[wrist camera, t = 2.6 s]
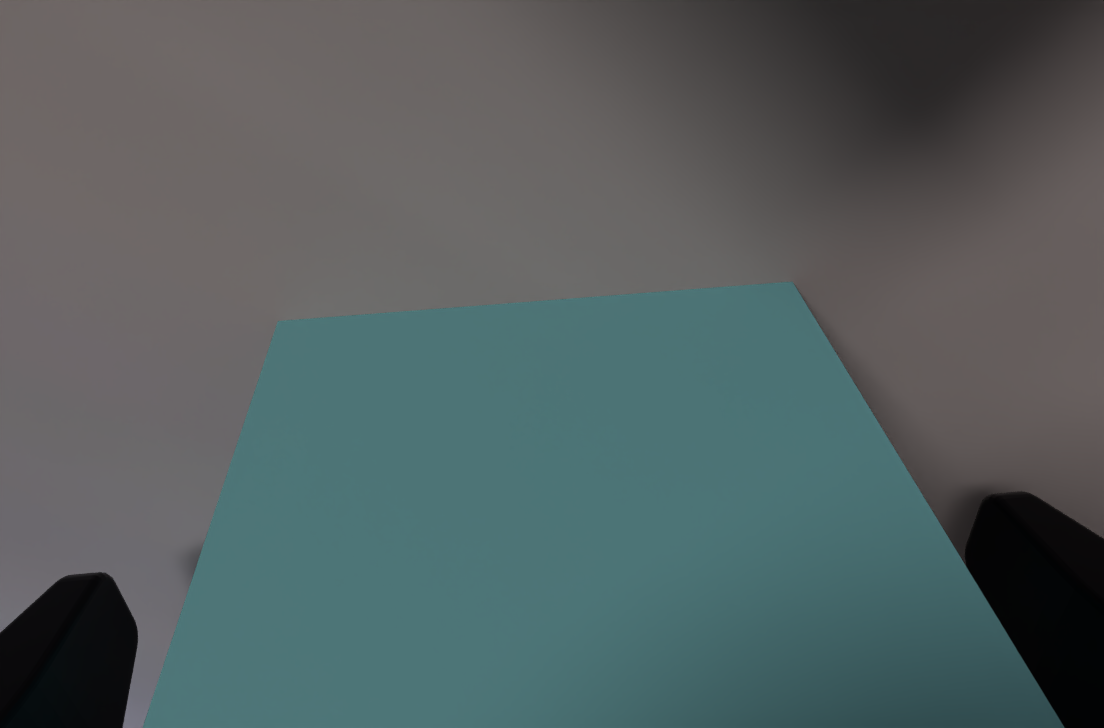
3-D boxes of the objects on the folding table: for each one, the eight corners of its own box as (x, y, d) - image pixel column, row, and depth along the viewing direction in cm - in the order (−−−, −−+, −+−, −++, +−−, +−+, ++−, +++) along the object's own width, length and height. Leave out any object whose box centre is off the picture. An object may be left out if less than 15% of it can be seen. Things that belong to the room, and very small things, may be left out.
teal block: (789, 277, 8) (1085, 761, 4) (744, 603, 11) (895, 1074, 7) (279, 316, 8) (98, 861, 4) (366, 638, 11) (308, 1143, 7)
